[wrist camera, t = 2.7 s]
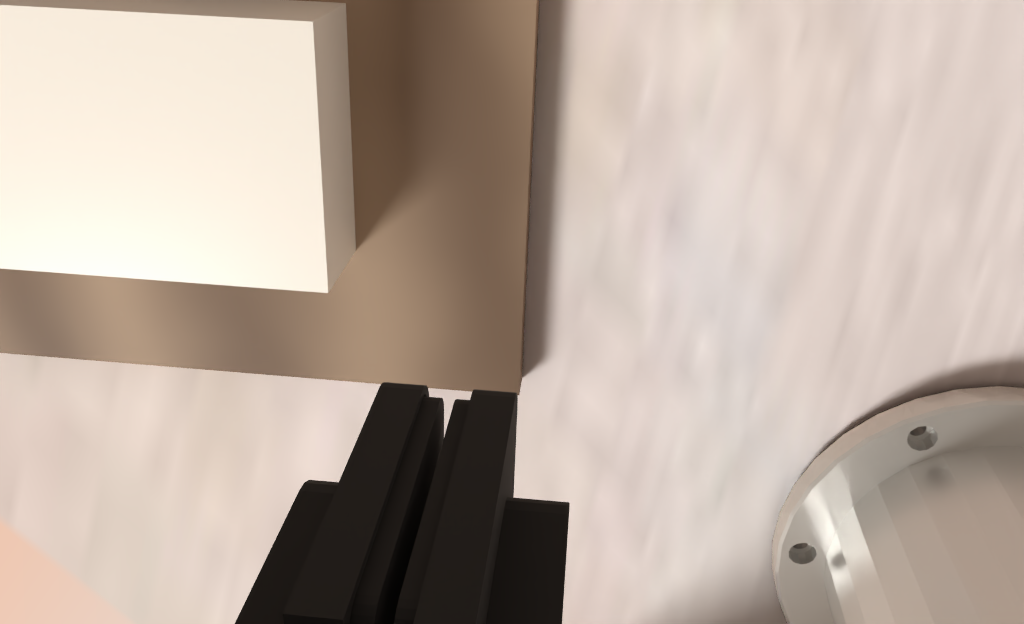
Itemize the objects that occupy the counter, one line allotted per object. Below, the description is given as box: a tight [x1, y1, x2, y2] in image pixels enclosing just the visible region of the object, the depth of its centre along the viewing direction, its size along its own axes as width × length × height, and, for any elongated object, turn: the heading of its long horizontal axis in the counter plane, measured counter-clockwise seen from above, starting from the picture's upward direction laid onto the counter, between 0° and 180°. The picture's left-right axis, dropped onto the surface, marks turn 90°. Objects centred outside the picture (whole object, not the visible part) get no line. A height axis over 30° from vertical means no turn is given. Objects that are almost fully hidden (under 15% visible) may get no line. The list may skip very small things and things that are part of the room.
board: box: [0, 0, 539, 395], centre depth 27 cm, size 30×16×1 cm, turn 88°
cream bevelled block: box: [0, 0, 356, 293], centre depth 26 cm, size 16×7×3 cm, turn 88°
